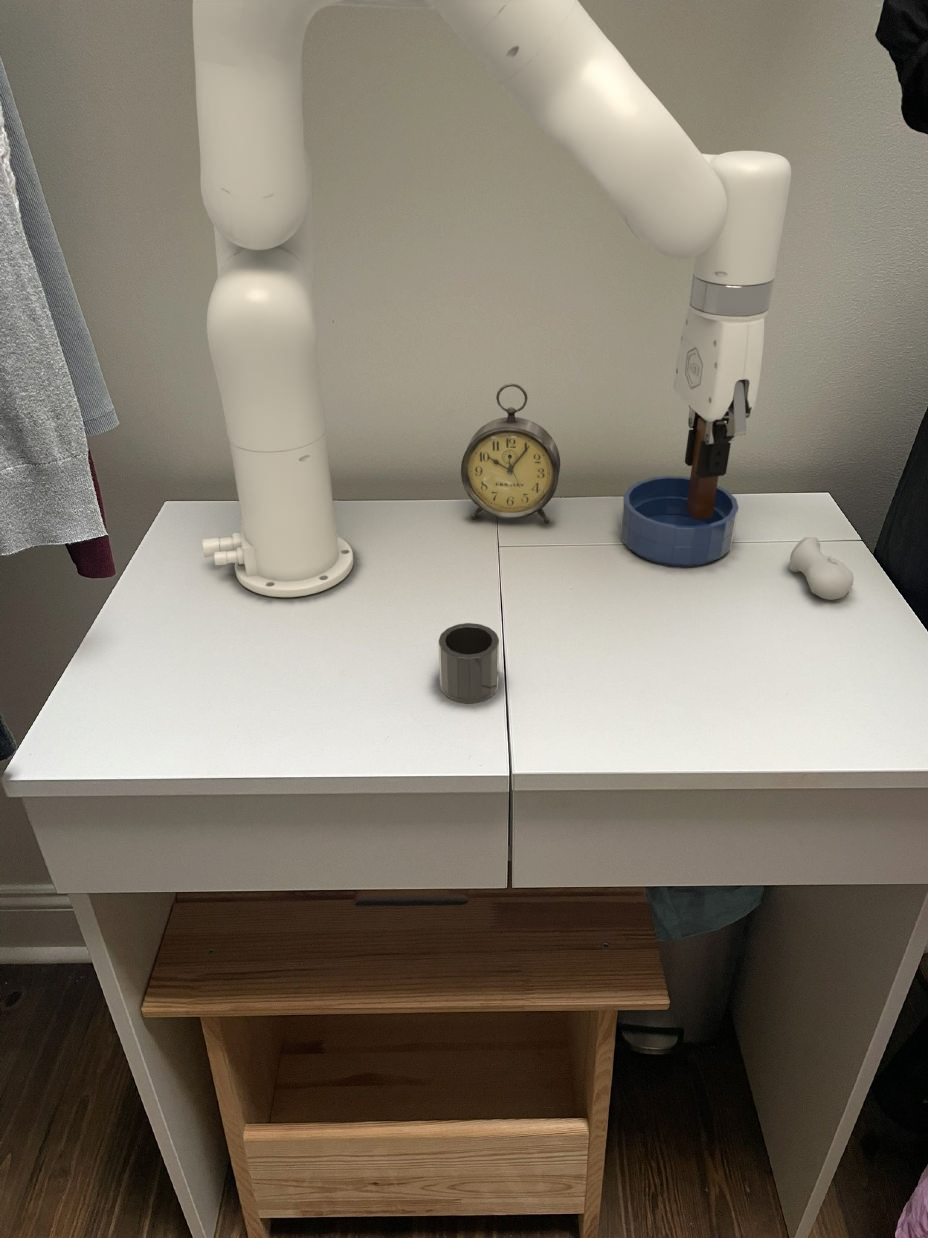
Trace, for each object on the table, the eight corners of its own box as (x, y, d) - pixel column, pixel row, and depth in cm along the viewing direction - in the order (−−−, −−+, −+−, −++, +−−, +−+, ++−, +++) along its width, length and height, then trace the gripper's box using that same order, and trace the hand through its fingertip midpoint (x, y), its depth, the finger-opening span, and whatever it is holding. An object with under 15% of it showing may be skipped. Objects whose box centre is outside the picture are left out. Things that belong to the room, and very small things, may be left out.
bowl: (643, 575, 100) (648, 534, 97) (605, 521, 110) (608, 482, 107) (750, 561, 102) (757, 520, 99) (703, 509, 112) (709, 470, 109)
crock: (446, 707, 83) (445, 661, 80) (435, 671, 87) (433, 627, 84) (504, 698, 83) (505, 653, 81) (490, 663, 88) (490, 619, 85)
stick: (693, 519, 103) (706, 425, 97) (685, 510, 105) (698, 417, 99) (712, 517, 104) (726, 423, 97) (704, 508, 106) (717, 415, 99)
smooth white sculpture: (851, 614, 96) (808, 605, 94) (817, 571, 102) (777, 562, 101) (873, 579, 93) (829, 569, 92) (837, 537, 100) (796, 528, 98)
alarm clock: (460, 524, 109) (458, 390, 100) (468, 502, 114) (466, 372, 105) (555, 531, 108) (562, 395, 99) (559, 509, 112) (566, 376, 103)
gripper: (662, 275, 97) (644, 442, 107) (730, 323, 84) (702, 507, 94) (730, 270, 98) (706, 436, 108) (807, 317, 85) (772, 499, 96)
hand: (704, 468), depth 101 cm, fingers closed on stick, 2 cm apart
